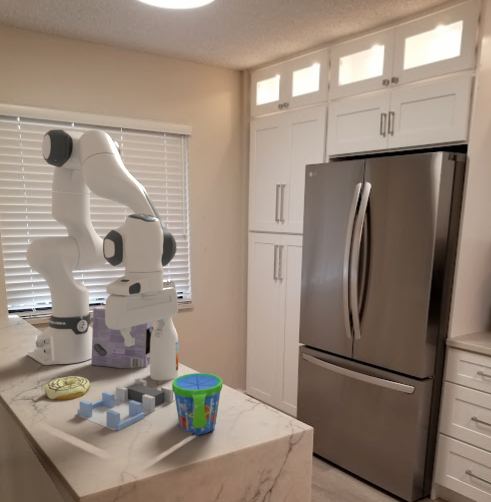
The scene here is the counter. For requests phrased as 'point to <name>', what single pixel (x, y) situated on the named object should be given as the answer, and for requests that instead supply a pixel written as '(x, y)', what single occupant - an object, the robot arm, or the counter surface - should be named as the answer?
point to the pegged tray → (121, 407)
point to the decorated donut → (67, 388)
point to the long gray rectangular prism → (139, 390)
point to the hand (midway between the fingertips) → (145, 341)
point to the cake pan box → (119, 344)
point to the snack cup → (197, 401)
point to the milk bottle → (164, 353)
